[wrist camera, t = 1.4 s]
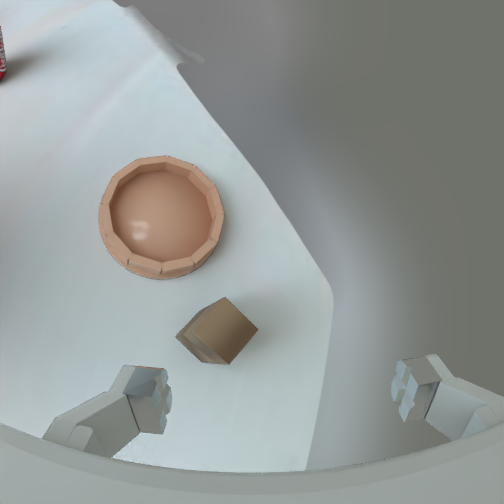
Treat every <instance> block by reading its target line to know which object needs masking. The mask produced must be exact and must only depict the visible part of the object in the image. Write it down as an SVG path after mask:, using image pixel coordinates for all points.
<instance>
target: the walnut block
mask: <svg viewBox="0 0 504 504" xmlns="http://www.w3.org/2000/svg"><path fill="white" fill-rule="evenodd" d="M257 331H258V329H257V328H256V327H255V326H254V325H253V324H252V323H251V322H250V321H249V320H248V319H247V318H246V317H245V316H244V315H243V314H242V313H241V312H240V311H239V310H238V309H237V308H236V307H235V306H234V305H233V304H232V303H231V302H230V301H229V300H228V299H227V298H226V297H224V298H222V299H220V300H219V301H217V302H215V303H213V304H211V305H210V306H208V307H206V308H204V309H202V310H201V311H199V312H198V313H197V314H196V315H195V316H194V317H193V318H192V319H191V320H190V322H189V323H188V324H187V325H186V326H185V327H184V328H183V329H182V330H181V331H180V332H179V333H178V334H177V335H176V336H175V337H176V338H177V339H178V340H179V341H180V342H181V343H182V344H183V345H184V346H185V347H186V348H187V349H188V350H189V351H190V352H191V353H193V354H194V355H195V356H196V357H197V358H198V359H199V360H200V361H201V362H205V363H217V364H230V363H231V361H232V360H233V359H234V358H235V357H236V356H237V354H238V353H239V352H240V351H241V350H242V349H243V347H244V346H245V345H246V344H247V343H248V341H249V340H250V339H251V338H252V337H253V335H254V334H255V333H256V332H257Z"/></svg>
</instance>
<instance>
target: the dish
mask: <svg viewBox="0 0 504 504" xmlns="http://www.w3.org/2000/svg"><path fill="white" fill-rule="evenodd" d="M223 219H224V210H223V207H222V204H221V200H220V197H219V194H218V191H217V187H215V185H214V184H213V183H212V182H211V181H210V180H209V179H208V178H207V177H206V176H205V175H204V174H203V173H202V172H201V171H200V170H199V169H198V168H197V167H196V166H195V167H194V165H193V164H190V163H187V162H184V161H182V160H179V159H176V158H173V157H170V156H167V157H166V156H157V157H148V158H140V159H138V160H137V159H136V160H135V161H133V162H132V163H130V164H129V165H127V166H126V167H125V168H123V169H122V170H120V171H119V172H117V173H116V174H115V175H113V177H112V178H111V181H110V183H109V185H108V187H107V189H106V191H105V193H104V195H103V198H102V201H101V204H100V209H99V228H100V233H101V237H102V239H103V242H104V244H105V246H106V248H107V250H108V251H109V253H110V254H111V255H112V257H113V258H114V259H115V260H116V261H117V262H118V263H119V264H120V265H122V266H123V267H124V268H126V269H127V270H129V271H131V272H133V273H135V274H137V275H140V276H143V277H147V278H151V279H172V278H177V277H180V276H184V275H186V274H188V273H190V272H192V271H194V270H195V269H197V268H198V267H199V266H200V265H202V264H203V263H204V262H205V261H206V260H207V259H208V257H209V256H210V255H211V254H212V252H213V251H214V249H215V247H216V245H217V243H218V240H219V237H220V233H221V227H222V223H223Z"/></svg>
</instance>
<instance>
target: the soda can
mask: <svg viewBox="0 0 504 504" xmlns="http://www.w3.org/2000/svg"><path fill="white" fill-rule="evenodd" d="M6 70H7V68H6V58H5V51H4V44H3V37H2V31H1V26H0V80H1V79H2V78H3V77H4V75H5V73H6Z"/></svg>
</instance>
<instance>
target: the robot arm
mask: <svg viewBox="0 0 504 504" xmlns="http://www.w3.org/2000/svg"><path fill="white" fill-rule="evenodd" d="M396 371H397V373H398V374H397V375H396V376H395V377H394V378H393V380H392V384H391V394H392V398H393V400H394V402H395V403H396V404H398V405H399V406H400V408H399V413H400V415H401V417H402V419H403V421H404V423H407V422H412V421H417V420H422V419H425V421H427V422H428V423H429V424H431V425H432V426H433V427H435V428H436V429H438V430H439V431H440V432H442V433H443V434H444V435H446V436H447V437H449V438H450V439H451V440H453V441H451V442H449V443H445V444H442V445H439V446H436V447H432V448H428V449H425V450H421V451H418V452H414V453H410V454H406V455H402V456H397V457H393V458H388V459H383V460H378V461H373V462H368V463H362V464H355V465H349V466H342V467H334V468H326V469H316V470H305V471H290V472H266V473H235V472H211V471H196V470H185V469H176V468H167V467H159V466H152V465H146V464H140V463H134V462H129V461H123V460H118V459H113V458H111V457H112V456H113V455H115V454H116V453H117V452H118V451H119V450H121V449H122V448H123V447H124V446H125V445H127V444H128V443H129V442H130V441H131V440H132V439H134V438H135V437H136V436H137V435H138V434H139V433H140V432H145V433H154V434H163V432H164V429H165V426H166V423H167V419H166V416H165V415H166V414H168V413H169V412H170V409H171V404H172V393H171V388H170V387H169V386H168V385H167V384H166V383H167V380H168V375H167V371H166V370H165V369H164V368H153V367H144V366H133V365H124V366H123V367H122V369H121V370H120V372H119V374H118V376H117V377H116V379H115V381H114V383H113V385H112V386H111V388H110V390H109V392H103V393H101V394H99V395H98V396H96V397H94V398H92V399H90V400H88V401H86V402H84V403H83V404H81V405H79V406H77V407H75V408H73V409H71V410H69V411H67V412H66V413H64V414H62V415H60V416H58V417H56V418H55V419H54V420H53V422H52V424H51V425H50V427H49V428H48V430H47V431H46V433H45V435H44V436H43V438H42V439H41V438H38V437H35V436H32V435H30V434H27V433H24V432H22V431H19V430H16V429H14V428H12V427H9V426H7V425H4V424H2V423H0V504H504V397H502V396H499V395H497V394H495V393H493V392H490V391H488V390H486V389H483V388H481V387H479V386H477V385H474V384H472V383H470V382H467V381H465V380H463V379H461V378H458V377H457V378H454V376H453V375H452V374H451V372H450V371H449V370H448V369H447V367H446V366H445V365H444V364H443V362H442V361H441V360H440V358H439V357H438V356H437V355H435V354H431V355H426V356H422V357H417V358H410V359H404V360H399V361H398V363H397V366H396Z"/></svg>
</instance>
